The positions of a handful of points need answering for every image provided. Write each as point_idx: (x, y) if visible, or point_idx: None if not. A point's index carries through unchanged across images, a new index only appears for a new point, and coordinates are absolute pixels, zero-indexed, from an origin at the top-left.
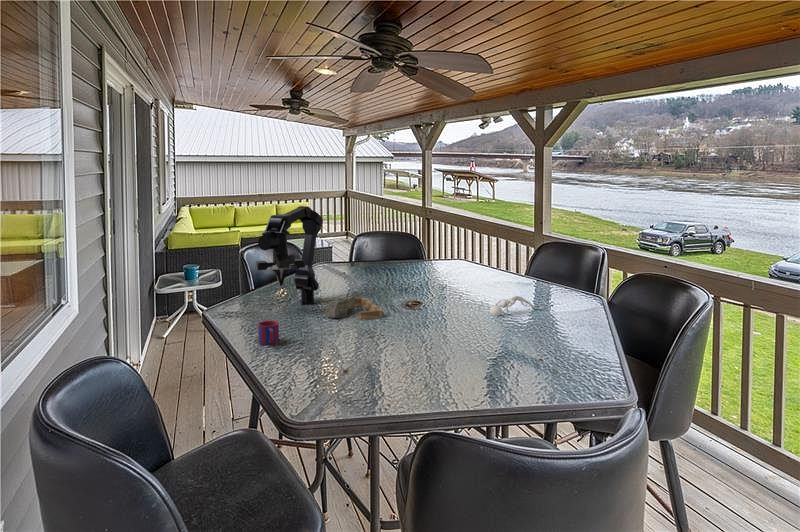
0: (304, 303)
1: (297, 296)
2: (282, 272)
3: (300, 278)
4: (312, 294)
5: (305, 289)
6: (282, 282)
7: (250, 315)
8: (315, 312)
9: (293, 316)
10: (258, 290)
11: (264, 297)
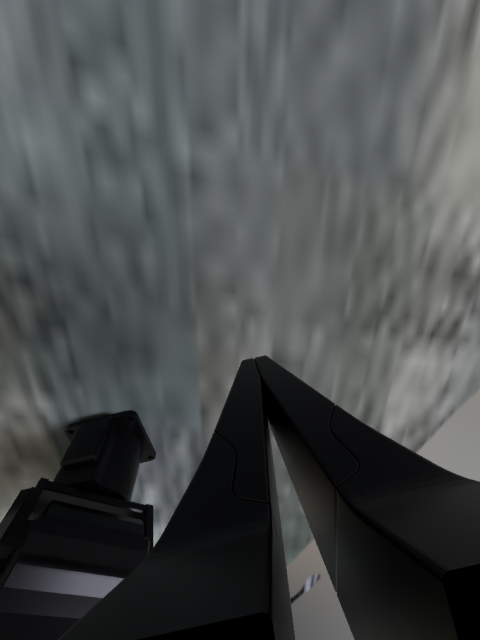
0: (123, 419)
1: (169, 510)
2: (277, 555)
3: (86, 575)
4: (60, 462)
5: (93, 495)
6: (244, 376)
7: (376, 275)
8: (35, 281)
9: (160, 215)
10: (298, 553)
11: (287, 498)
